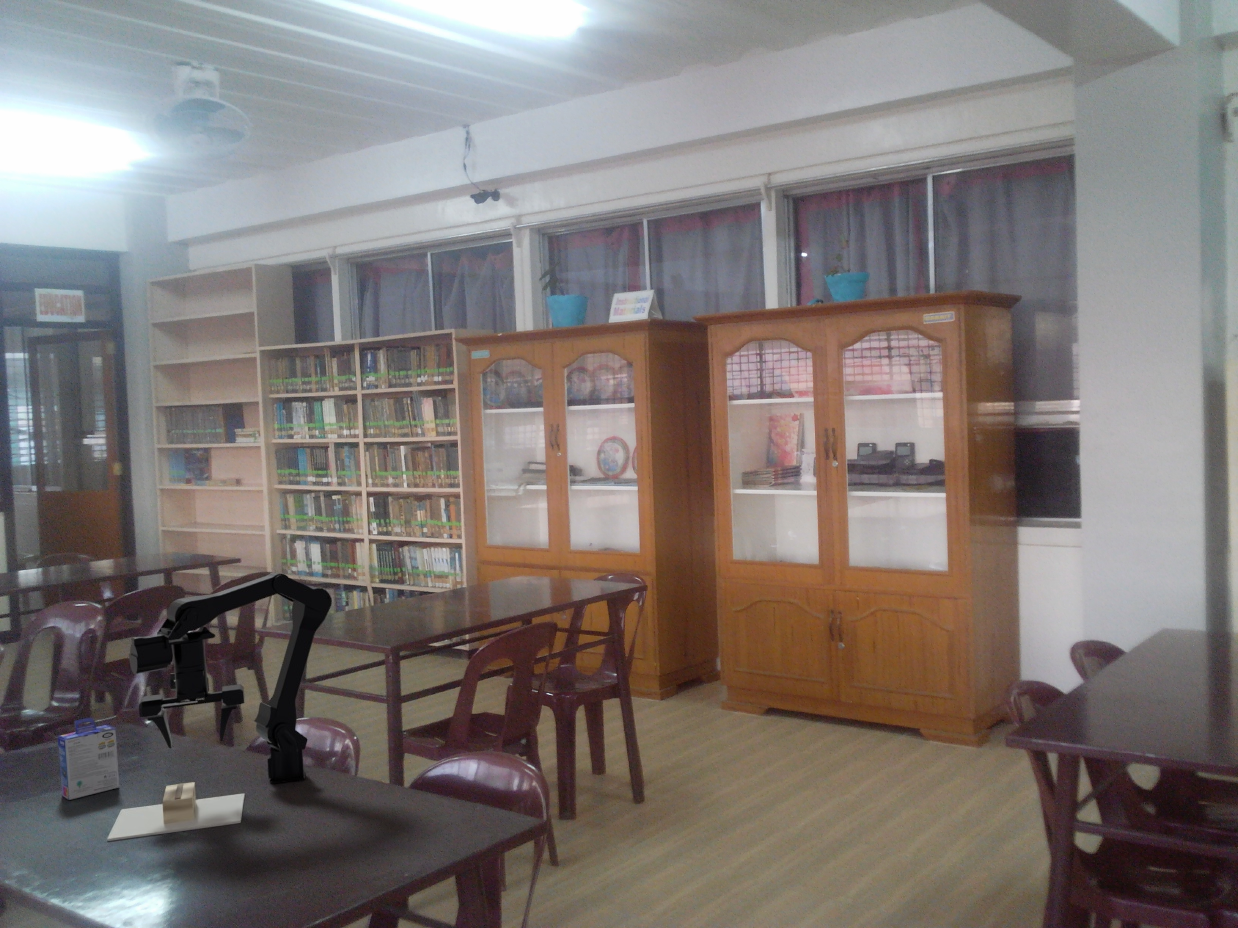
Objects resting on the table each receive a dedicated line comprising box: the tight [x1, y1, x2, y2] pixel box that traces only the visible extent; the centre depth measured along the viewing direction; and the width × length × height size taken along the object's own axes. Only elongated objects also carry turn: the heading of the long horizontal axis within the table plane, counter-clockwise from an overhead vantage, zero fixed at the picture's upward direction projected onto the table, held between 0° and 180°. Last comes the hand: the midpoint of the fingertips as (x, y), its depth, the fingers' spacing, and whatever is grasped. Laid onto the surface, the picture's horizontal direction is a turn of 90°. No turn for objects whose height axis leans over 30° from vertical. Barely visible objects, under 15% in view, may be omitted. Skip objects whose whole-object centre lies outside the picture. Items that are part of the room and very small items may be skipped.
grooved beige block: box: [161, 781, 197, 824], centre depth 200 cm, size 10×5×4 cm, turn 19°
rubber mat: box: [106, 793, 246, 842], centre depth 199 cm, size 22×16×1 cm
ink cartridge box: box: [57, 717, 120, 801], centre depth 216 cm, size 10×6×14 cm, turn 135°
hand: (196, 744), depth 209 cm, fingers open, 9 cm apart
